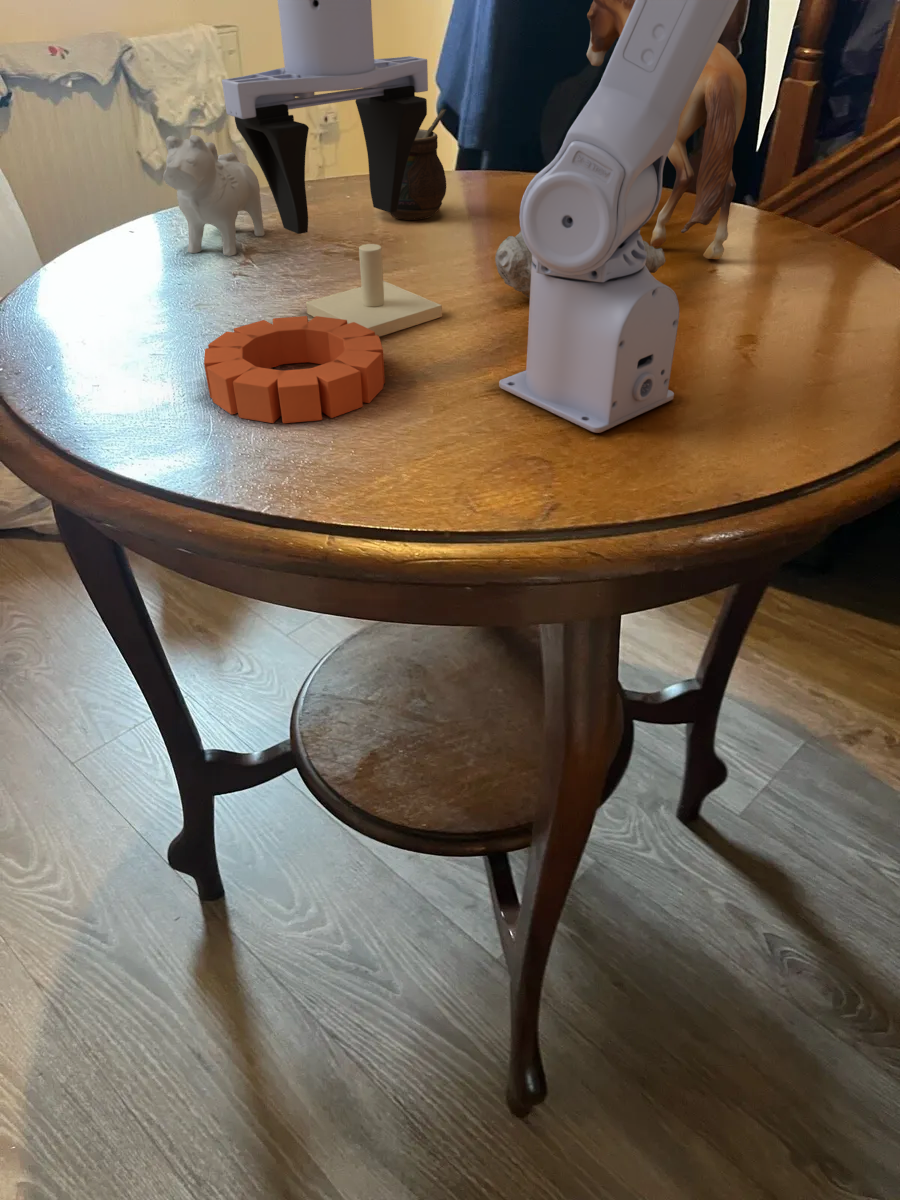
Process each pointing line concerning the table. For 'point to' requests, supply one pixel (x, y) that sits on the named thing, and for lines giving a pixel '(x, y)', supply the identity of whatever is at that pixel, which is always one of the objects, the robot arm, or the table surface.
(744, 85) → the horse figurine
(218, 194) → the dog figurine
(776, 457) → the table surface
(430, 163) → the mate gourd
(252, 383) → the ring
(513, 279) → the seashell
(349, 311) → the stand
